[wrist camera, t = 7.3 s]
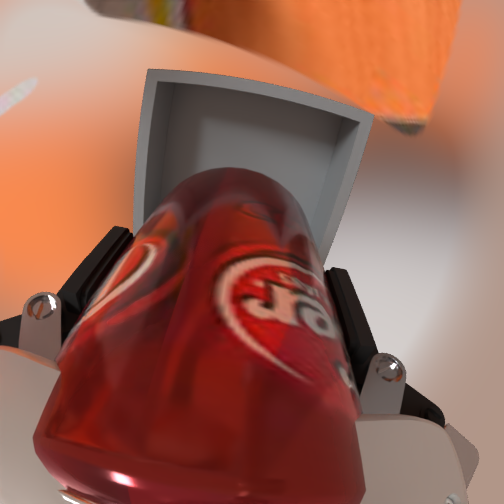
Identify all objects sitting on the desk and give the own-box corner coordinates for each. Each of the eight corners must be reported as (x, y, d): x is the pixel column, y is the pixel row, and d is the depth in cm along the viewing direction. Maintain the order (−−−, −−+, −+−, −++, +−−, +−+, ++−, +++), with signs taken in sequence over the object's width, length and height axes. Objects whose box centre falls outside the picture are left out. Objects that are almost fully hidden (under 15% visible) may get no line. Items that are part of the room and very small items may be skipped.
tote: (351, 110, 24) (374, 114, 19) (308, 247, 32) (317, 279, 27) (170, 73, 22) (147, 68, 17) (152, 218, 31) (133, 244, 25)
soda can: (169, 294, 15) (105, 509, 5) (149, 166, 12) (-62, 406, 1) (300, 298, 15) (327, 531, 5) (315, 165, 12) (477, 488, 1)
